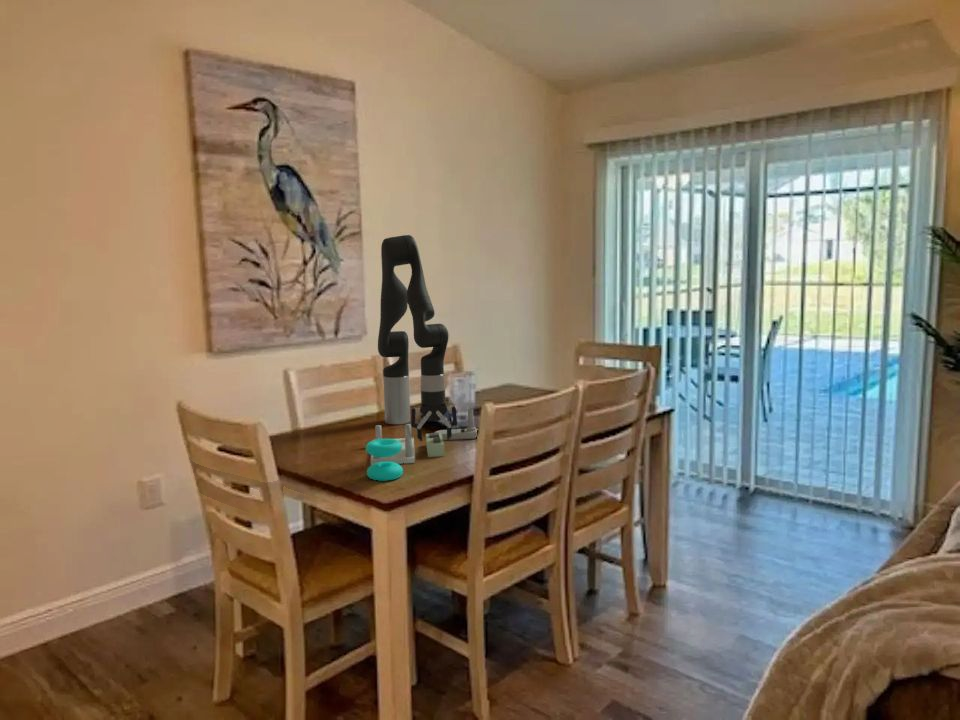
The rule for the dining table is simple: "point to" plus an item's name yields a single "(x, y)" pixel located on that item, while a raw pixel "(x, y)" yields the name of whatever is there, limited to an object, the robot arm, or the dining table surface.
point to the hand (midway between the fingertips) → (434, 439)
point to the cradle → (406, 452)
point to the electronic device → (462, 430)
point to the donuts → (384, 469)
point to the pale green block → (434, 444)
